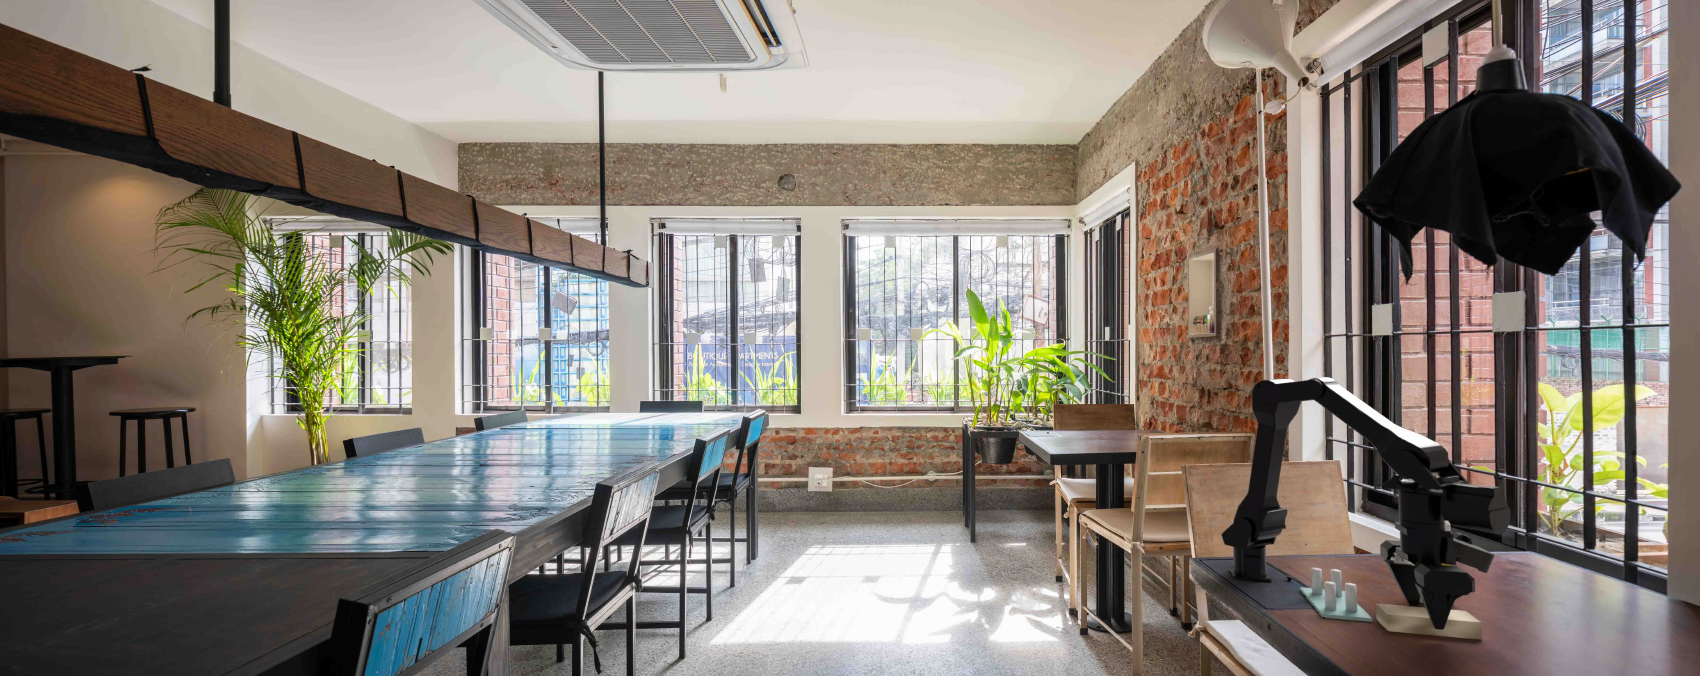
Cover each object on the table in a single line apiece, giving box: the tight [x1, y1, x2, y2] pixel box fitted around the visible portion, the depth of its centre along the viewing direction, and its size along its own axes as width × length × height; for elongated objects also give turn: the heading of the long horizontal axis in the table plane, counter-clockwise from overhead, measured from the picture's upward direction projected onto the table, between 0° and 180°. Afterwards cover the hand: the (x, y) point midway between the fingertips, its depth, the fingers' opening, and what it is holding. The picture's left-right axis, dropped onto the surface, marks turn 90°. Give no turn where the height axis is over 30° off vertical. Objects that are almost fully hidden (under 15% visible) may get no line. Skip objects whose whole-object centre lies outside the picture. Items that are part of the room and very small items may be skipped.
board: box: [1375, 603, 1483, 640], centre depth 112 cm, size 12×5×3 cm, turn 70°
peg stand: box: [1299, 567, 1373, 623], centre depth 123 cm, size 14×7×5 cm, turn 160°
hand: (1426, 618), depth 112 cm, fingers open, 9 cm apart
